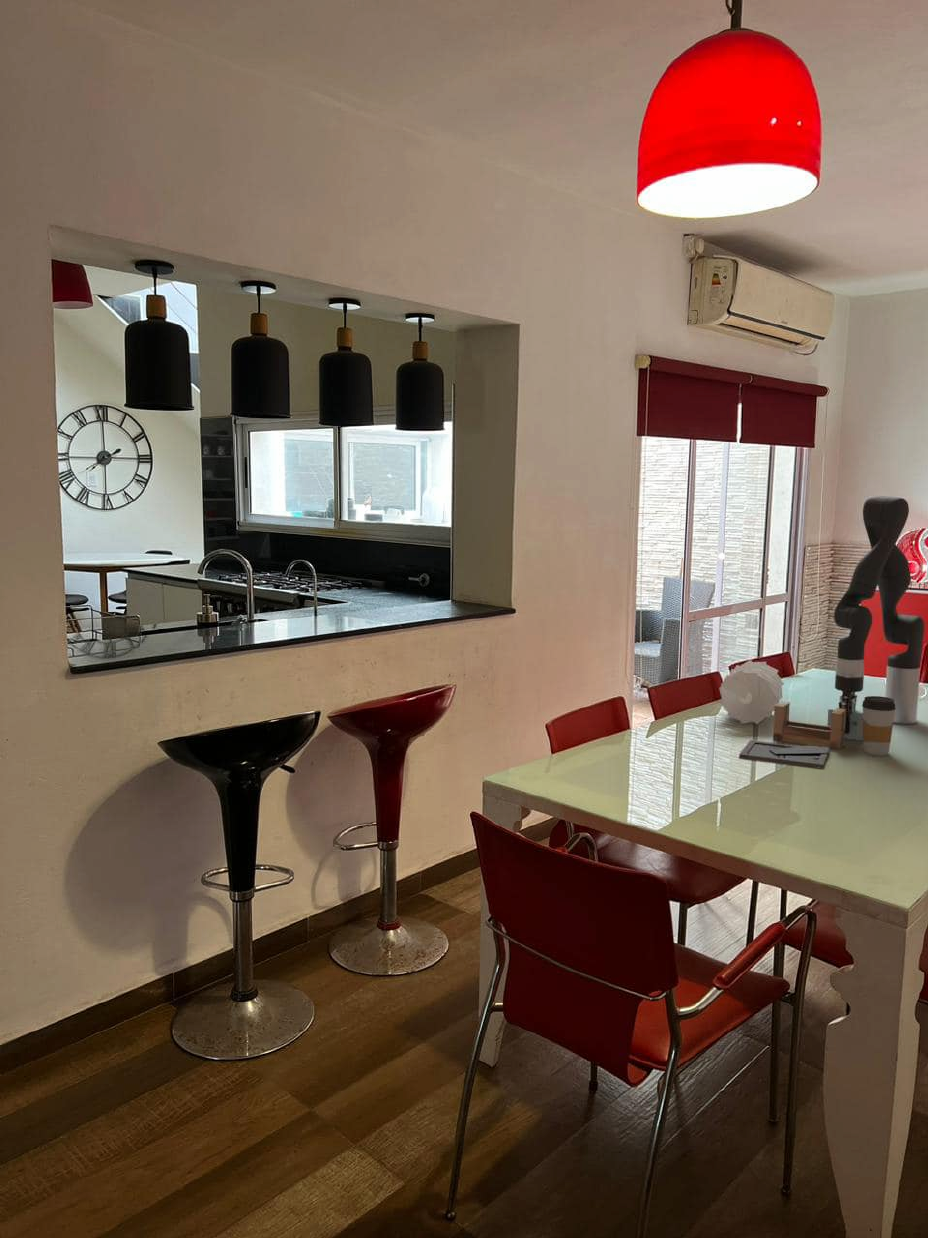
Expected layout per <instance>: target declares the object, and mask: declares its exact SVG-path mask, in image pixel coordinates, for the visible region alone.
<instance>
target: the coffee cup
mask: <svg viewBox="0 0 928 1238" xmlns="http://www.w3.org/2000/svg"><path fill="white" fill-rule="evenodd" d="M861 706H862V711H863V741H862V744H863V745H862V746H863V747H862V749H863V751H864V753H865V754H868V755H871V756H877V757H879V756H883V757H884V756H887V755H888V754H889V752H890V747H891V741H892V735H893V727H894V722H893V719H894V711H895V709H896V708H895V703H894V700H893V699H891V698H887V697H885V696H878V695H876V696H875V695H871V696H870V695H869V696H865V697H864V699H863V700H862V704H861Z"/></svg>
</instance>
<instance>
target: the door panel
mask: <svg viewBox="0 0 928 1238" xmlns="http://www.w3.org/2000/svg"><path fill="white" fill-rule="evenodd" d="M836 708H837V707H833V706H830V707H829V708H827V710H828V711H827V725H826V726H831V713H832V712H833V711H834V710H835V709H836ZM846 716H847V715H846ZM850 719H851V720H850V731H849V733H848V734H845V739H846V738H850V739H849V740H854V739H856V740H855V741H861V740H863V710H858V709H857V710H856V709H855V710H853V713H851V718H850Z"/></svg>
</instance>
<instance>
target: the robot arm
mask: <svg viewBox="0 0 928 1238" xmlns="http://www.w3.org/2000/svg"><path fill="white" fill-rule="evenodd" d="M909 512H910V506H909V503H908V501H907V500H906V499H905V498H902V497H895V496H885V495H871V496H869V497H868V498H866V499H865V501H864V502H863V506H862V519H863V520H862V521H863V524H864V527H865V531H866V534H867V538H868V540H869V543H870V548H871V549H870V551H868V552H867V553H866V554H865V555H864V556H863V557H862V558H861V559H860V561H858V563H857V564H856V566H855V568H854V571H853V573H852V577H851V579H850V583H849V586H848V588H847V590H846V591H845V592H844V594H843V596H842V597H841V599H840V600H839V602H838V603H837V605H836V607H835V608H834V612H833V620H834V623H835V625H836V626H837V627H839V628H842V629H848V630H850V631H849V635H848V636H843V637H841V638H840V639H839V640H838V644H837V659H836V663H835V678H834V688H835V690H837V691H841V692H842V694H841V695H840V696H839V702H838V708H842V709H846V715H847V716H846V722H845V734H848V733H849V731H850V720H851V719H850V718H851V713H853V710H856V709H857V708H856V707H857V699H858V695H857V694H856V693H859V692H862V691H863V690H864V681H865V680H864V679H865V646H866V643H867V639H868V637H869V634H870V631H871V629H872V625H873V614H872V612H871V610H870V608H868V607H866V606H862V605H861V604H862V602H863V601H867V600H871V599H873V598H874V596H875V593H876V590H877V587H878V592H879V599H880V604H881V617H882V630H883V631H882V632H883V636H884V639H885V640H886V642H887V643H890V644H895V645H904V646H907V648H906V650H905V651H903V652H901V653H896V654H892V655H891V654H890V655H889V656H888V657H887V660H886V661H887V662H886V675H885V676H886V677H885V678H886V680H885V691H884V692H885V694H884V695H885V696H884V697H887V698H891V699H893V700H894V703H895V708H896V709H895V711H894V719H893V724H902V725H905V724H908V725H909V724H916V723H917V718H918V717H917V716H918V705H919V703H918V701H919V687H920V672H921V663H922V661H921V660H922V654H923V653H922V652H923V643H924V637H925V630H926V629H925V627H926V626H925V625H926V624H925V620H924V618H923V617H922V616H920V615H912V614H909V615H908V614H900V613H898V612H897V605H898V604H899V602H900V600H901V598H902V597H903V596H904V595H905V593H906V592H907V591H908V589H909V587H910V584H911V580H912V577H911V570H910V563H909V561H908V558H907V557H906V555H905V554H904V552H903V551H902V550H901V549H900V548H899V546H898V545H897V544H896V543H897V542H898V540H899V538H900V536H901V533H902V531H903V530H904V527H905V525H906V523H907V520H908V519H909V518H908V517H909Z"/></svg>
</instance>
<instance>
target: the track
mask: <svg viewBox="0 0 928 1238" xmlns="http://www.w3.org/2000/svg"><path fill="white" fill-rule="evenodd" d="M790 703H791V702H790V701H782V700H781V701H779V703H778V704H776V705H775V706H774V711H773V731H772V740H773V739H774V740H773V741H779V740H781V742H786V741H789V742H788V743H793V742H795V743H794V744H800V743H801V744H800V745H807V744H808V745H807V746H814V745H815V746H818V747H820V746H821V747H827V748H830V749H834V748H835V750H840V749H841V748H842V746H843V745H844V744H845V739H846V738H845V722H846V709H842V708H839V707H835V708H836V709H835V710H834V711H833V712H832V713H831V726H827V725H825V724H824V725H822V724H816V723H808V722H807V723H806V722H799V721H792V720H790V705H791V704H790Z"/></svg>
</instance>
